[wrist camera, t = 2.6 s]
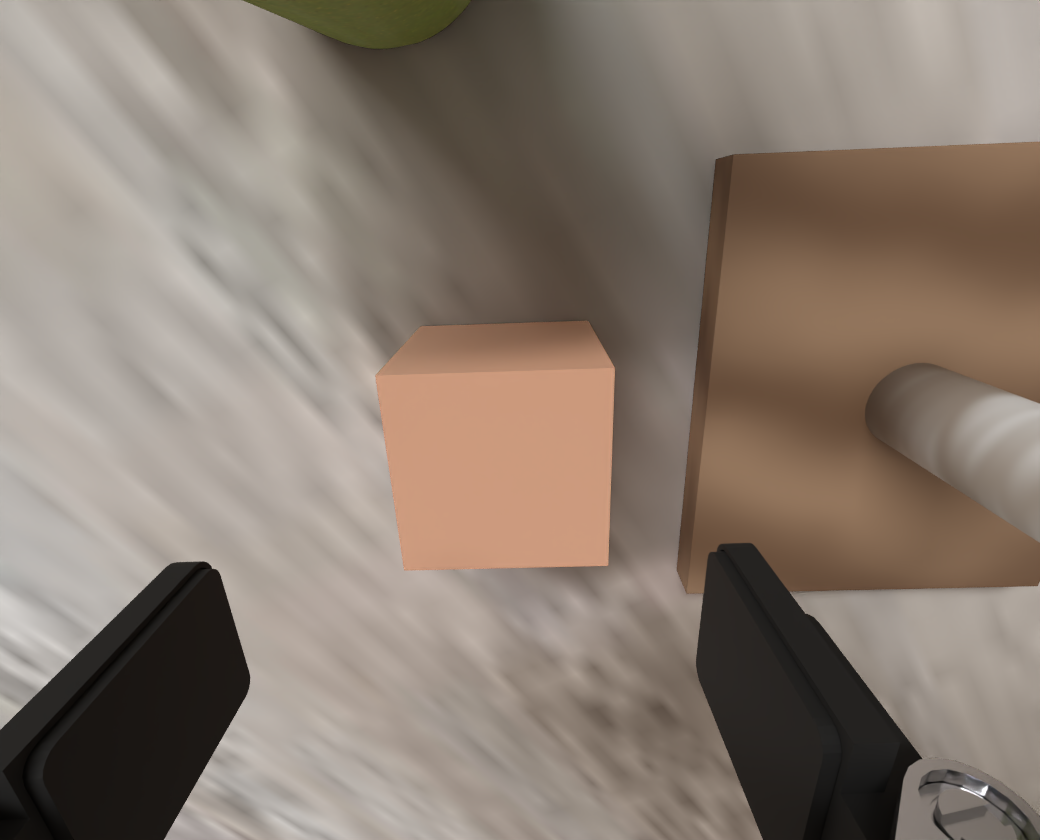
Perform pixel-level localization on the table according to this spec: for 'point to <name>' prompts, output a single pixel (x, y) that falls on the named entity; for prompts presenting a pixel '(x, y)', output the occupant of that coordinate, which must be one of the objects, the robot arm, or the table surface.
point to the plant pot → (370, 19)
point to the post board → (870, 369)
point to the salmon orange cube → (500, 445)
